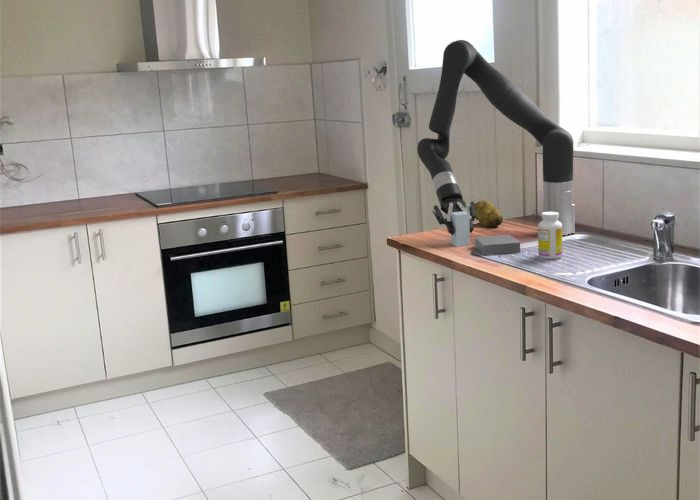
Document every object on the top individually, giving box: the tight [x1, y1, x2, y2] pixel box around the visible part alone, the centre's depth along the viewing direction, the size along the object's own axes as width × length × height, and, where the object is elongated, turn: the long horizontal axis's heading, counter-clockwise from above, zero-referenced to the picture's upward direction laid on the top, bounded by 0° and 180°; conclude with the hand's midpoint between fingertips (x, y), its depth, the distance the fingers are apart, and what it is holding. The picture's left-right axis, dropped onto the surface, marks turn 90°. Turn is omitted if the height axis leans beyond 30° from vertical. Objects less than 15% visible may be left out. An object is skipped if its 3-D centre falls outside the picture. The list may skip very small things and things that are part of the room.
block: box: [450, 211, 471, 247], centre depth 244 cm, size 4×4×10 cm
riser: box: [474, 234, 521, 255], centre depth 235 cm, size 11×11×3 cm
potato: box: [474, 200, 504, 228], centre depth 269 cm, size 8×13×8 cm, turn 8°
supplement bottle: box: [537, 211, 563, 260], centre depth 222 cm, size 7×7×13 cm
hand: (462, 232), depth 242 cm, fingers open, 5 cm apart
